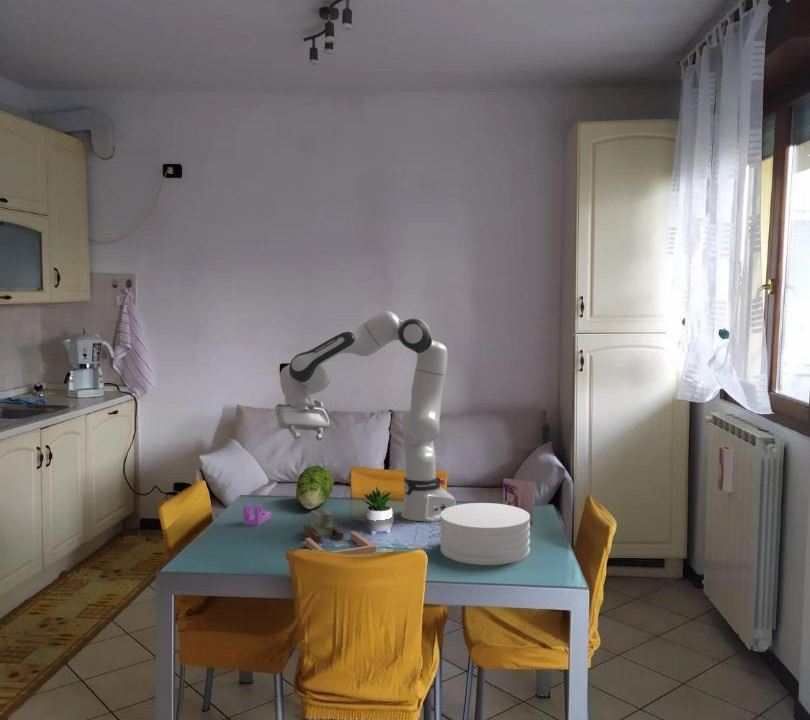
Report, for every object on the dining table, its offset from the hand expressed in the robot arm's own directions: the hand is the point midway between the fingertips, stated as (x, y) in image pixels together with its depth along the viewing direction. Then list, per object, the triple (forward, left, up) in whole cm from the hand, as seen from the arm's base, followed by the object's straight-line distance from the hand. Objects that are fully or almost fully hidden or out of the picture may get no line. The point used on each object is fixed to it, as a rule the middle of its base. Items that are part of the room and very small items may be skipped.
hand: (308, 439), depth 277 cm
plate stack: (-40, +53, -30) cm, 73 cm away
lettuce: (-9, -22, -30) cm, 39 cm away
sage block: (+1, +16, -30) cm, 34 cm away
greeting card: (-66, +33, -30) cm, 80 cm away
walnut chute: (+1, +17, -30) cm, 34 cm away
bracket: (+15, -12, -30) cm, 36 cm away
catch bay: (+1, +32, -30) cm, 44 cm away
